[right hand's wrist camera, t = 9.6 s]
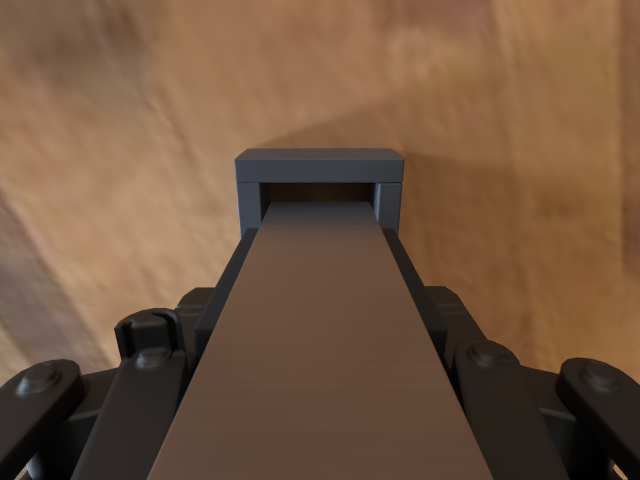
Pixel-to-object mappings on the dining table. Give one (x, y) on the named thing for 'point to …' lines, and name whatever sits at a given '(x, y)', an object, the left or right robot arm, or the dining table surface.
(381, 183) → the peg board
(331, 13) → the dining table surface
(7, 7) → the dining table surface
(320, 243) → the peg
